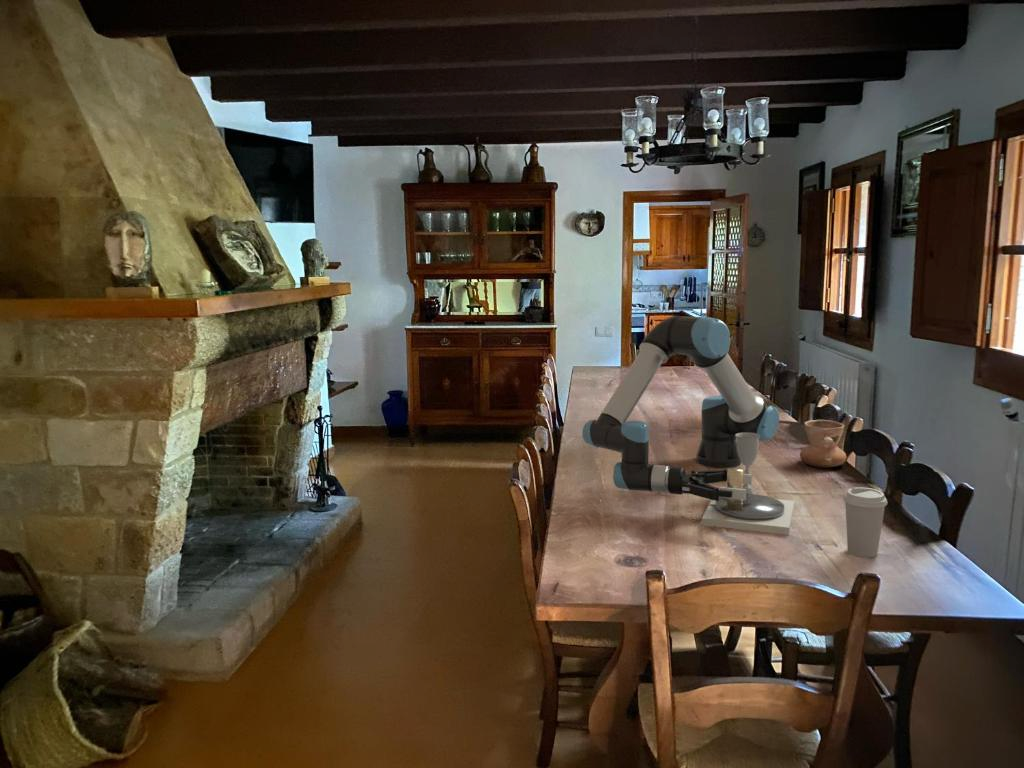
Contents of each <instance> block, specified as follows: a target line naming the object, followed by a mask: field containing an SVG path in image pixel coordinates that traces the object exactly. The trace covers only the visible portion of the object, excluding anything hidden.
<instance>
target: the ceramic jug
mask: <svg viewBox="0 0 1024 768" xmlns="http://www.w3.org/2000/svg"><path fill="white" fill-rule="evenodd" d="M844 428H845V424H843V423H841V422H839V421H834V420H827V419H815V420H814V419H810V420H808V421H805V422H804V429H805V433H806V434H805V435H806V436H807V440H808V442H809V444H808V445H807V446H805V447H803V448H802V450H800V453H799V456H800V457H799V458H800V459H801V461H802V462H804V463H805V464H807V465H809V466H811V467H816V468H825V469H828V468H829V469H830V468H834V467H839V466H842V465H843V464H844V463H845V462H846V460H847V453H846V452H845V451H844V450H843V449H841V448H839V446H838V443H839V442H840V439H841V438H842V435H843V432H844V430H845V429H844Z"/></svg>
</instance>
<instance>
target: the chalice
mask: <svg viewBox="0 0 1024 768" xmlns="http://www.w3.org/2000/svg"><path fill="white" fill-rule="evenodd" d="M736 437H737V438H736V440H737V453H738V456H739V458H740V460H741V464H742V465H743V466H745V467H744V468H745V469H744V470H743V473H744V474H751V471H750V469H749V467H750V466H752V465H753V464H754V462H755V460H756V458H757V455H758V453H759V443H760V441H759V438H760V434H757V433H748V432H745V433H737V434H736ZM743 489H746V494H756V492H755V489H754V486H752V485H748V484H743Z"/></svg>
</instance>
